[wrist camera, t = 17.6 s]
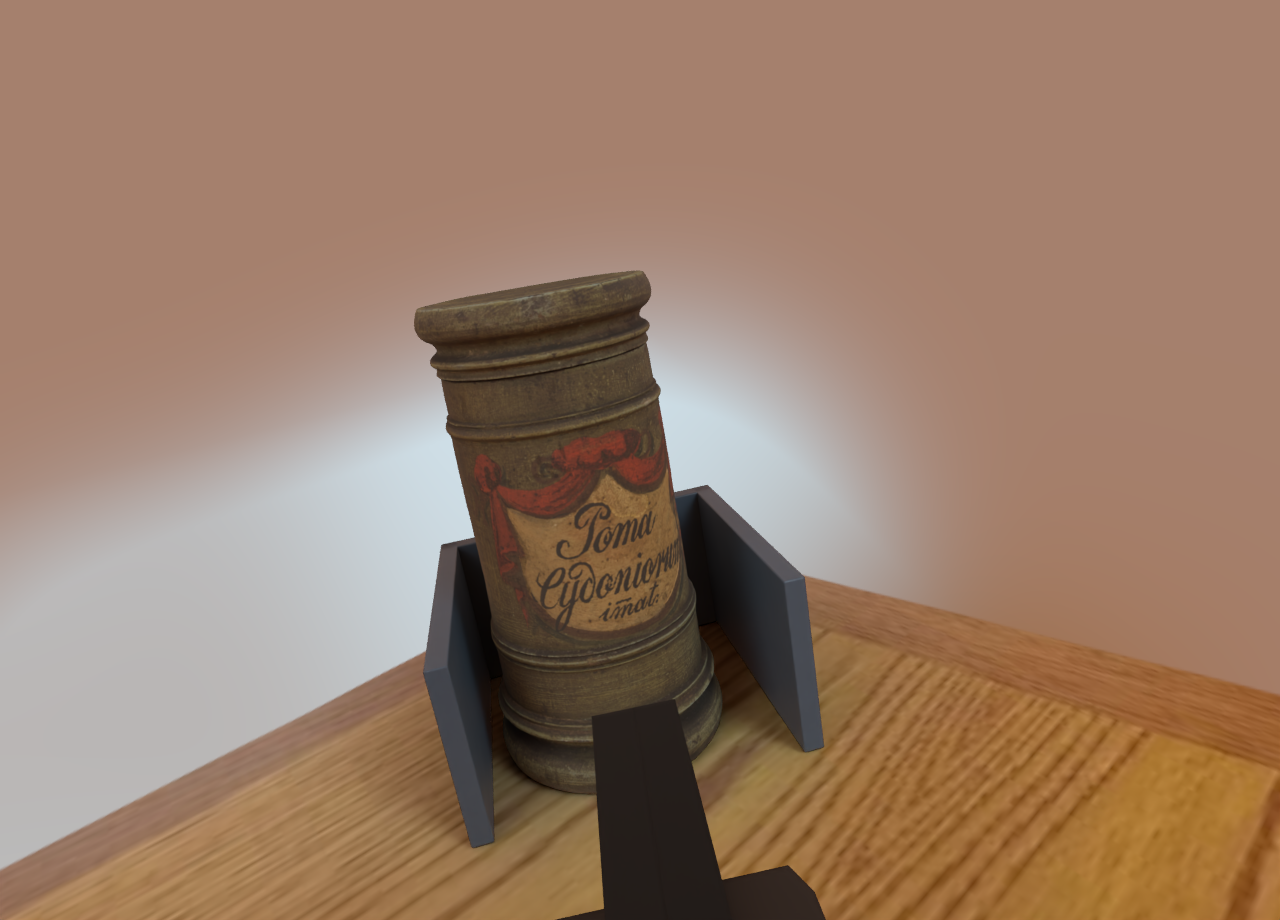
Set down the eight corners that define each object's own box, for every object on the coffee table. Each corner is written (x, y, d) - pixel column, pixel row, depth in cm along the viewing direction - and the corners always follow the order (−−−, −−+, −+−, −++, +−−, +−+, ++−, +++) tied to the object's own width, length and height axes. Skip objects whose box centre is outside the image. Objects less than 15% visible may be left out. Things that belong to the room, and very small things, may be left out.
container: (475, 727, 33) (368, 313, 28) (642, 642, 38) (575, 274, 33) (578, 840, 26) (456, 307, 21) (769, 717, 30) (707, 258, 25)
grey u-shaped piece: (824, 747, 28) (805, 576, 26) (471, 849, 26) (422, 672, 24) (726, 610, 39) (707, 484, 37) (474, 674, 37) (440, 544, 35)
